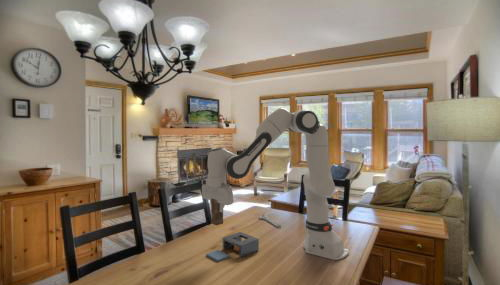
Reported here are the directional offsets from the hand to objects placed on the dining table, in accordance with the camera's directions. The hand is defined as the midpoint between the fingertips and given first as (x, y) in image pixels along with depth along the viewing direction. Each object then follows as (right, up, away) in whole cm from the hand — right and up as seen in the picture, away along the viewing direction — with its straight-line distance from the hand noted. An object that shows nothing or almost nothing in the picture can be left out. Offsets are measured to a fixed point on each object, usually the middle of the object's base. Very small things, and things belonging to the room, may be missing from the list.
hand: (217, 210), depth 135 cm
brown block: (0, -6, 0) cm, 6 cm away
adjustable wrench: (+28, -21, +52) cm, 63 cm away
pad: (0, -22, +1) cm, 22 cm away
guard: (+11, -22, +9) cm, 26 cm away
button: (+11, -22, +9) cm, 26 cm away
